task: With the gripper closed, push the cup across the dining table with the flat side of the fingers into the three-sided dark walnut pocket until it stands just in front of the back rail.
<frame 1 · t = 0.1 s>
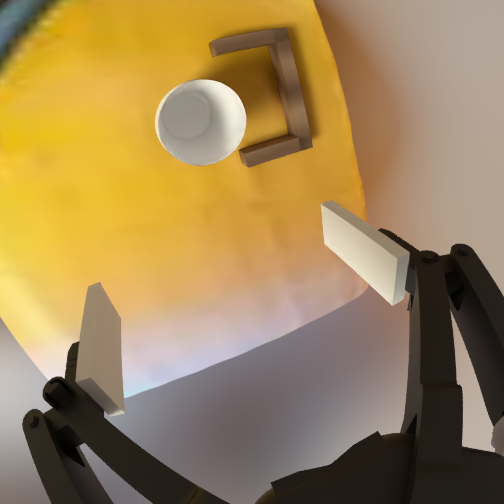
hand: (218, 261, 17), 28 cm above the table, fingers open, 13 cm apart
walnut pocket: (262, 93, 39), on the table
cup: (186, 115, 38), on the table
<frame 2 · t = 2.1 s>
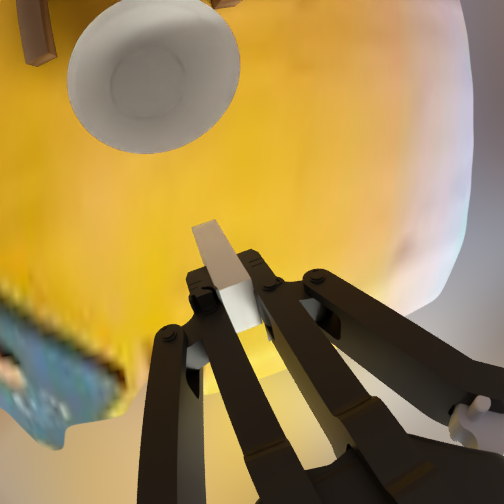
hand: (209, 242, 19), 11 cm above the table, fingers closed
cup: (147, 83, 22), on the table
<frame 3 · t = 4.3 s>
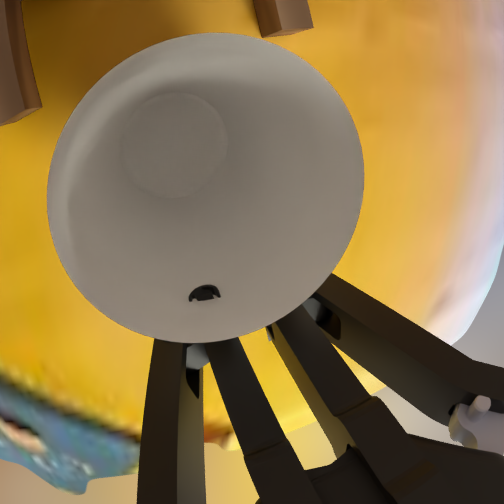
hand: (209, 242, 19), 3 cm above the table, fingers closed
cup: (173, 145, 18), on the table, touching gripper
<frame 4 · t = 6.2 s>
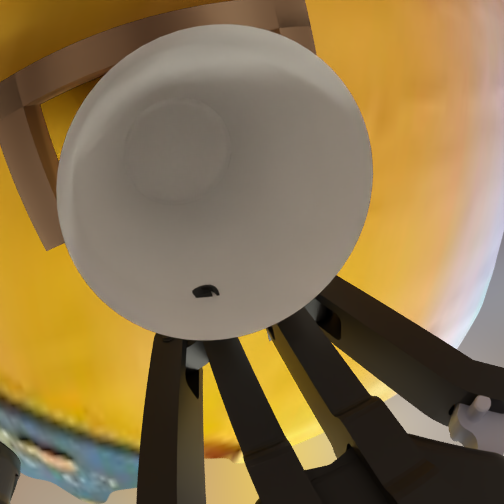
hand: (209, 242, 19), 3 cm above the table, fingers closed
walnut pocket: (157, 97, 16), on the table
cup: (177, 150, 18), on the table, touching gripper
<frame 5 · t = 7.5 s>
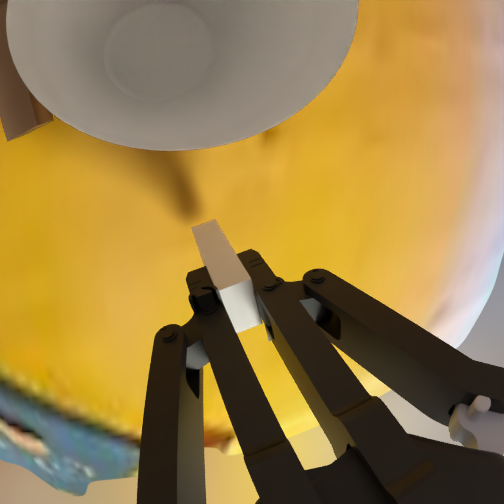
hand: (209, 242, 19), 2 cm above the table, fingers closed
cup: (160, 49, 14), on the table
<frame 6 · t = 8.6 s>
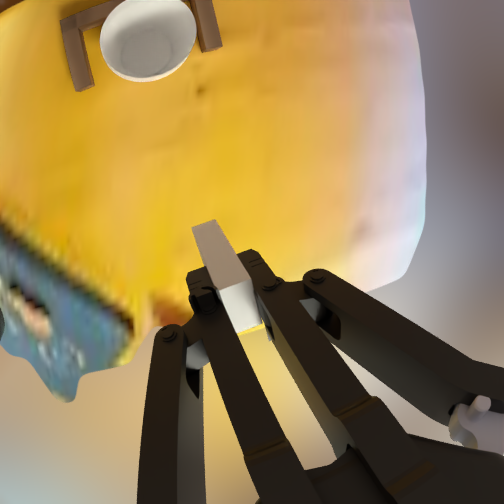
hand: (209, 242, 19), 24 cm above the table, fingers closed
walnut pocket: (139, 29, 29), on the table
cup: (146, 53, 31), on the table
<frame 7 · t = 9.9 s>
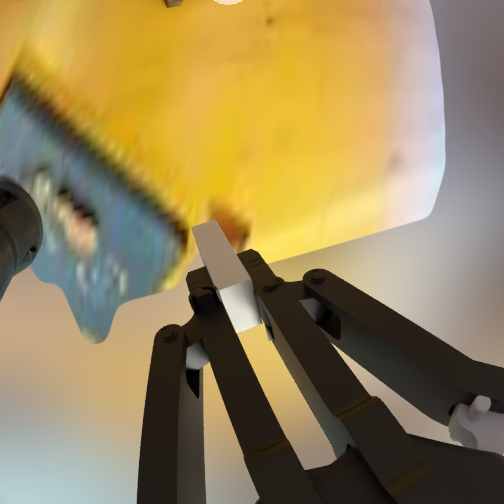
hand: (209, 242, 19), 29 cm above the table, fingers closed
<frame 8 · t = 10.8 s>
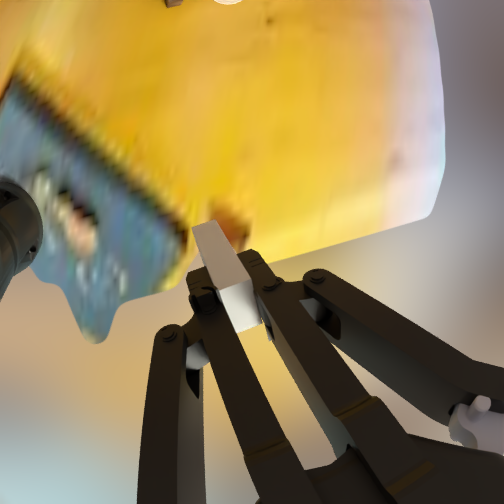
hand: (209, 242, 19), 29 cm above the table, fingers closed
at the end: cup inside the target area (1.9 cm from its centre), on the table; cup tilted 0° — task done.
